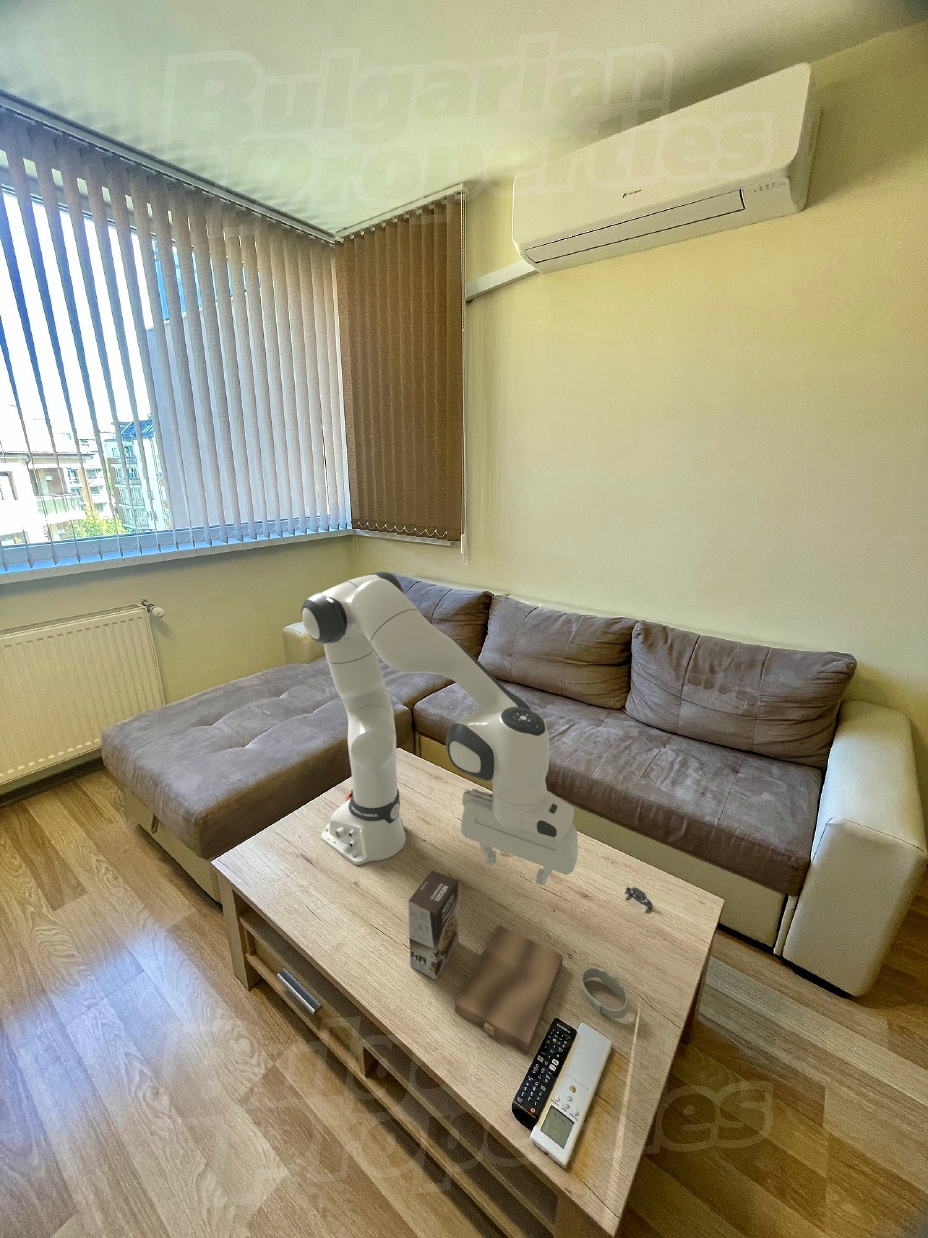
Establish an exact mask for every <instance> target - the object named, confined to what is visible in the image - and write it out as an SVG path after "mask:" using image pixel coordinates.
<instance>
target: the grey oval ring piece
mask: <svg viewBox="0 0 928 1238" xmlns="http://www.w3.org/2000/svg"><path fill="white" fill-rule="evenodd" d="M591 978H592V979H593V978H596V979H599V980H600V981H601V982H602V983H603V984H604V985H605V986H606V987H607V988H608V989H609V990H610V991H611V992H613V993H614V994H615V995H616V996H621V997H622V998H624V999H625V1003H624V1005H623V1006H622V1007H620V1008H618V1009H617V1008H616V1009H613V1008H609V1007H606V1006H605V1005H604V1004H602V1003H601V1002H600V1001H599V1000H597V998H595V997H594V996H592V995H591V993H589V991H588V990H587V988H586V986H585V985H586V984H585V983H586V982H587V981H588V980H589V979H591ZM580 984H581V989H582V992H583V996H585V999H586V1000H587V1002H588V1003H589V1004H590V1005H591V1006H592V1007H593V1008H594V1009H595V1010H596V1011H597V1012H598V1013H599V1014H600V1015H602V1014H603V1015H605V1016H606V1017H609V1018H612V1019H615V1020H616V1019H617V1020H618V1019H622V1018H625V1017H626V1016H627V1015H628V1013H629V1010H630V1004H629V1003H630V1002H629V998H628V993H627V991H626V989H625V987H624V985H623V984H622V982H621V981H620V980H619V978H618V977H616V976H615V975H613V973H611V972H610V971H608V969H605V968H602V967H596V966H590V967H587V968H585V969H584V970H583V971H582V974H581V975H580Z"/></svg>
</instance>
